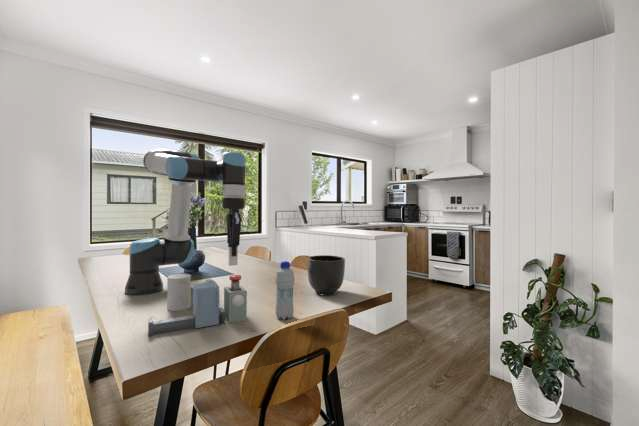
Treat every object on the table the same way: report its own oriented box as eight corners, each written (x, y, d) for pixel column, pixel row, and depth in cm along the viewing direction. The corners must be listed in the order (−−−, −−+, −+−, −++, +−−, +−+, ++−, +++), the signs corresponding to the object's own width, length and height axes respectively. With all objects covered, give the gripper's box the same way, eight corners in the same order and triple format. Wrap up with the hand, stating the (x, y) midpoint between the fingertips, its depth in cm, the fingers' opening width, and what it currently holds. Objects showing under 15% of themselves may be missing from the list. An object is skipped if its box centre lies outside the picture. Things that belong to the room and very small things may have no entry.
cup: (181, 311, 113) (181, 279, 113) (162, 309, 115) (162, 277, 114) (194, 304, 121) (195, 274, 121) (176, 303, 123) (176, 273, 122)
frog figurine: (215, 295, 134) (215, 279, 134) (198, 297, 131) (198, 281, 131) (213, 292, 139) (214, 276, 139) (197, 293, 136) (197, 278, 136)
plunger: (228, 298, 109) (228, 275, 109) (239, 296, 111) (239, 274, 111) (230, 301, 105) (230, 278, 105) (242, 299, 107) (242, 276, 107)
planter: (352, 294, 139) (352, 259, 139) (320, 300, 129) (321, 262, 129) (329, 286, 153) (330, 254, 153) (300, 291, 143) (300, 256, 143)
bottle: (275, 314, 112) (276, 259, 111) (293, 314, 112) (294, 259, 112) (274, 321, 105) (275, 263, 105) (293, 320, 106) (294, 263, 105)
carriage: (192, 320, 104) (193, 283, 103) (214, 317, 107) (214, 281, 107) (196, 329, 96) (196, 289, 96) (219, 325, 100) (219, 286, 100)
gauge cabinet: (223, 314, 110) (224, 287, 110) (240, 312, 113) (240, 285, 113) (229, 322, 103) (229, 293, 103) (246, 319, 106) (247, 291, 106)
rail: (148, 330, 96) (148, 317, 96) (222, 318, 107) (222, 307, 107) (148, 336, 91) (148, 322, 91) (225, 323, 102) (225, 311, 102)
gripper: (219, 197, 111) (218, 262, 111) (226, 196, 99) (225, 269, 100) (240, 198, 114) (239, 261, 115) (249, 197, 103) (248, 267, 103)
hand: (233, 265), depth 107 cm, fingers closed
